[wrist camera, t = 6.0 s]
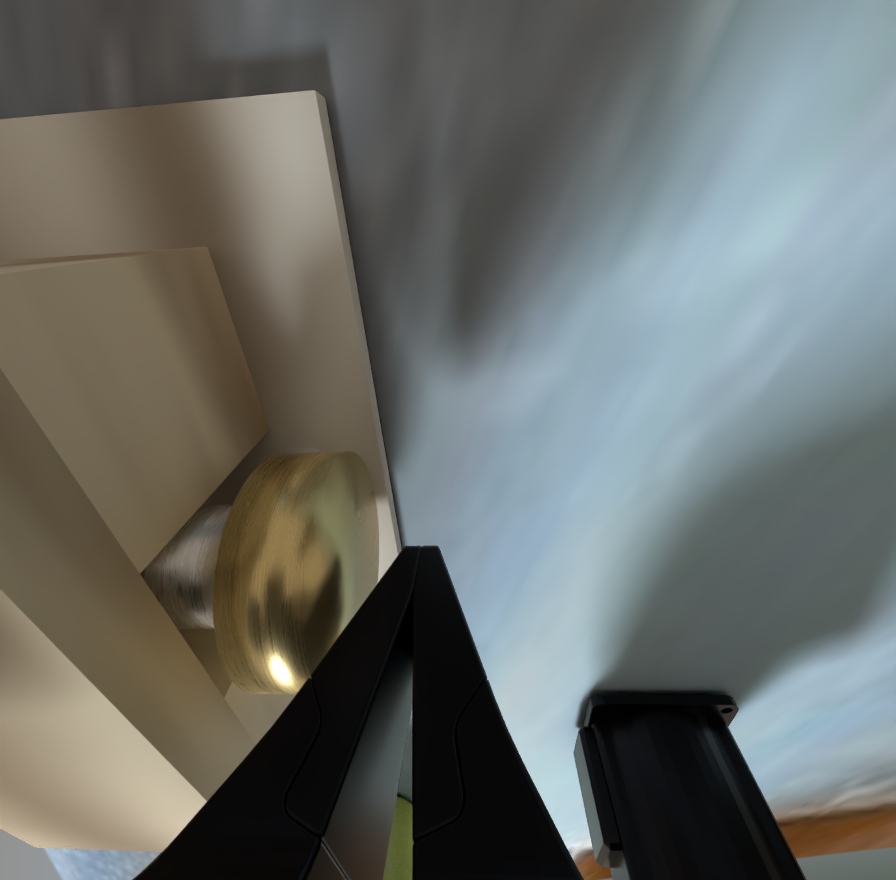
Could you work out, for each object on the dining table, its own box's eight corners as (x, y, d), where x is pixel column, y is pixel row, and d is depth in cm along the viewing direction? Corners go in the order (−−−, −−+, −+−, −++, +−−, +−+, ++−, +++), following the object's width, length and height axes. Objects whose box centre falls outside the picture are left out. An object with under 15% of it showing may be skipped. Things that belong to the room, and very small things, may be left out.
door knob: (358, 413, 10) (272, 576, 5) (387, 555, 13) (344, 744, 8) (-182, 434, 11) (-631, 588, 6) (-51, 562, 14) (-304, 735, 9)
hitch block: (325, 98, 8) (-213, -345, 2) (417, 642, 17) (391, 886, 11) (-92, 136, 8) (-1676, -81, 2) (217, 643, 17) (85, 874, 11)
